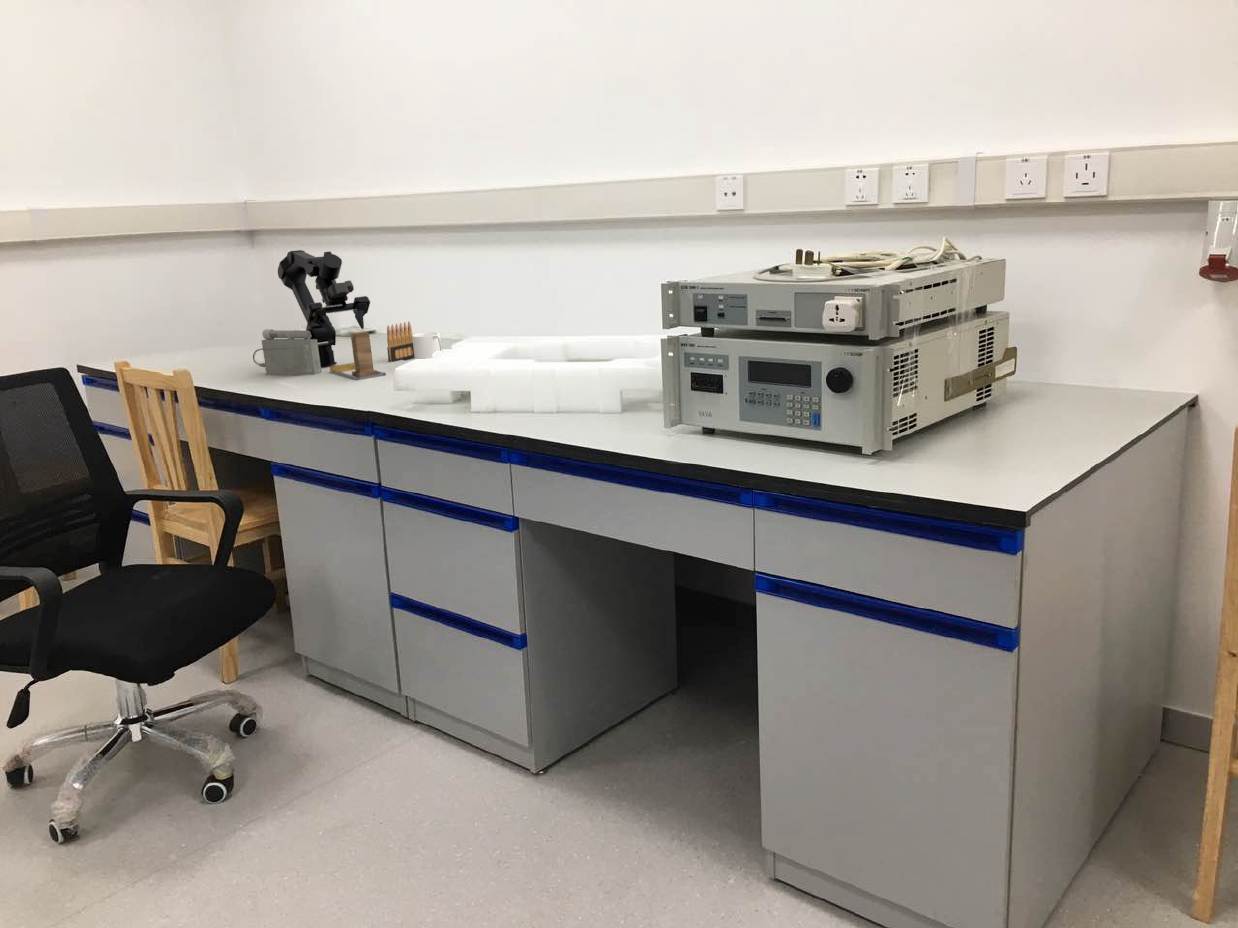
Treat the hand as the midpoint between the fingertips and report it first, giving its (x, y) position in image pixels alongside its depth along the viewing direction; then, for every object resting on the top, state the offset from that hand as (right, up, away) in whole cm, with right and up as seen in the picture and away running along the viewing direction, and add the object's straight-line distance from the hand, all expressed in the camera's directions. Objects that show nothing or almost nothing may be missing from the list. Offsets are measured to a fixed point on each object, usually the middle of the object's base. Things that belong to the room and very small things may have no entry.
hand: (348, 330), depth 299 cm
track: (+2, -13, +1) cm, 14 cm away
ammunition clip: (+11, -7, +24) cm, 28 cm away
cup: (+24, -11, +7) cm, 27 cm away
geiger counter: (-22, -12, +11) cm, 28 cm away
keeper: (+6, -14, -3) cm, 15 cm away
